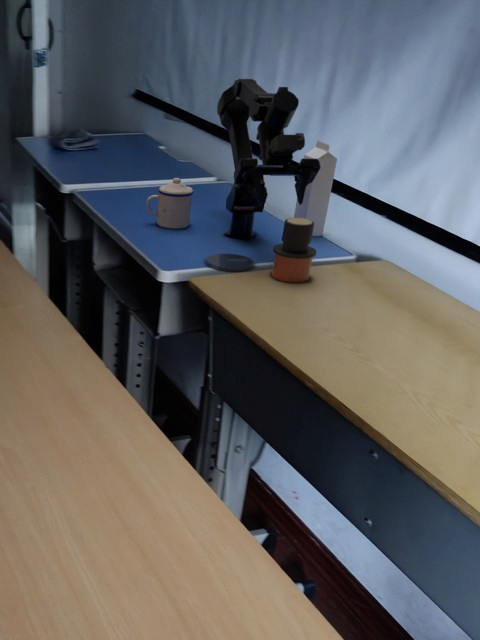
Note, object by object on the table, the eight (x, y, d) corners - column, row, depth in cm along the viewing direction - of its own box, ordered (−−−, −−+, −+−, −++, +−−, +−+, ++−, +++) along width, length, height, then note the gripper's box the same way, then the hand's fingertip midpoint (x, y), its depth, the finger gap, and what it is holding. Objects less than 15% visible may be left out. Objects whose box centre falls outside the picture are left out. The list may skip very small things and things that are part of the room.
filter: (279, 250, 192) (285, 213, 188) (320, 257, 189) (327, 219, 184) (265, 260, 186) (271, 222, 181) (307, 268, 182) (314, 229, 177)
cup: (278, 268, 194) (282, 244, 191) (312, 274, 191) (317, 250, 187) (266, 277, 188) (270, 253, 185) (301, 284, 185) (306, 260, 182)
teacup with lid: (189, 220, 226) (193, 175, 219) (190, 230, 218) (195, 183, 211) (145, 219, 226) (148, 173, 219) (145, 228, 219) (148, 181, 212)
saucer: (216, 254, 202) (216, 250, 201) (259, 262, 197) (259, 258, 197) (198, 265, 194) (199, 262, 193) (243, 274, 189) (243, 271, 189)
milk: (302, 237, 216) (318, 145, 203) (291, 231, 220) (306, 140, 208) (322, 236, 217) (340, 144, 204) (311, 229, 222) (327, 140, 209)
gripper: (243, 118, 182) (252, 180, 178) (324, 119, 184) (335, 180, 180) (229, 152, 192) (237, 212, 189) (306, 153, 195) (315, 211, 191)
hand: (281, 203), depth 187 cm, fingers open, 9 cm apart
